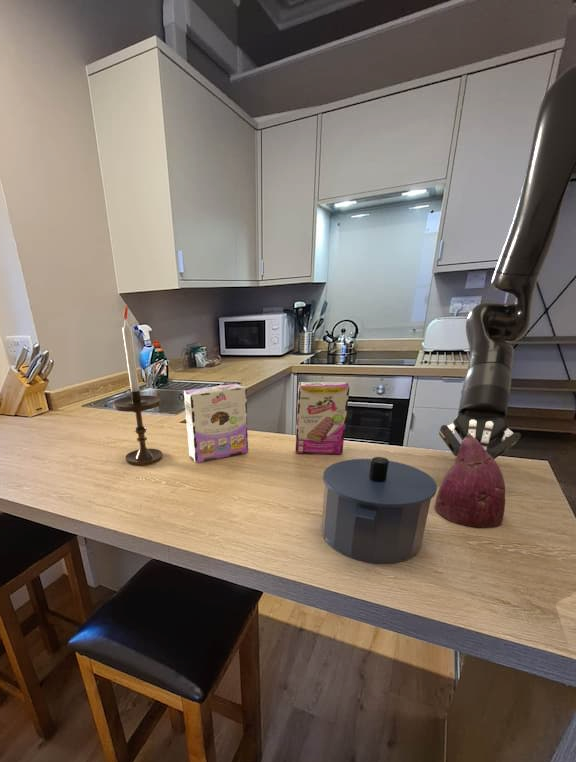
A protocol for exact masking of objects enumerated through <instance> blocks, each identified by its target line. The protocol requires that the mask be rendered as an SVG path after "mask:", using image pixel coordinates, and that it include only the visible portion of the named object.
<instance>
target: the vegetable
mask: <svg viewBox="0 0 576 762" xmlns="http://www.w3.org/2000/svg"><path fill="white" fill-rule="evenodd" d="M460 444H461V446H460V449H459V453H458V456H455V460H454V461H453V462H454V463H453V464H452V465H451V467H450V468H449V470H448V471H447V472H446V474H445V476H444V477H443V479H442V482H441V484H440V486H439V489H438V492H437V495H436V499H435V503H434V510H435V511H436V512H437V513H438V514H439V515H440V516H441V517H444V519H446V520H448V521H450V522H452V523H455V524H458V525H463V526H467V527H473V528H495V527H499V526H501V525H502V523H503V519H504V516H505V509H506V485H505V480H504V476H503V473H502V471H501V469H500V466H499V465H498V463H497V462H496V460H495V459H493V458H492V456H491V455H490V454H489V453H488V452H487V451H488V450H485V449H484V448H483V447H482V445H481V444H480V443H479V442H478V440H477V439H476V438H474V437H472V435H471V434H470V433H468V434H467V436H466V437H465V438H464V439H463V440H461V443H460Z"/></svg>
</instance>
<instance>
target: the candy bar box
mask: <svg viewBox="0 0 576 762" xmlns="http://www.w3.org/2000/svg"><path fill="white" fill-rule="evenodd" d="M297 391H298V392H297V411H296V427H295V429H296V430H295V454H307V455H308V454H311V455H314V454H315V455H343V449H344V442H345V433H346V424H347V423H346V422H347V414H348V406H349V404H348V403H349V397H350V385H349V383H348V382H347V381H306V382H305V381H300V382H298V389H297Z"/></svg>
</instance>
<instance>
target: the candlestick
mask: <svg viewBox="0 0 576 762" xmlns="http://www.w3.org/2000/svg"><path fill="white" fill-rule="evenodd" d="M125 305H126V306H125V308H124V312H123V316H122V317H123V319H124V324H123V327H122V328H121V329H122V336H123V342H124V350H125V357H126V365H127V371H128V378H129V386H130V388H128V389H126V390H125V392H129V393H130V395H131V396H125V397H121V398H118V399H116V400H114V401H113V403H112V406H113V410H115V411H118V412H125V413H126V412H127V413H128V412H130V413H134V414H135V421H136V427H135V428H134V432H135V433H136V434H137V438H136V441H137V442H139V449H135V450H132V451H130V452H128V453H127V454H126V455H125V462H126V464H128V465H131V466H138V467H139V466H150V465H154V464H157V463H158V462H161V460H163V456H164V455H163V452H162V451H161V450H160V449H157V448H147V445H146V441H147V440H148V438H147V436H146V435H145V434H146V432H147V427H146V426H144V424H143V415H142V412H144V411H148V410H153V409H155V408H157V407H160V405H161V404H162V402H161V398H160V397H158V396H155V395H145V394H143V395H141V392H142V391H144V390H145V388H143V387H140V386H139V378H138V377H139V376H138V370H137V362H136V354H135V346H134V338H133V331H132V327H131V326H130V325H129V322H128V320H127V319H128V310H129V307H128V303H126V304H125Z"/></svg>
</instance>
